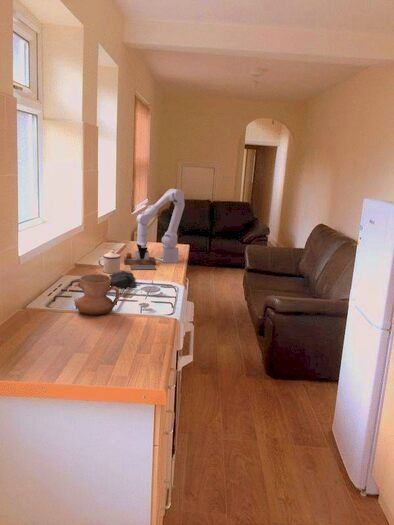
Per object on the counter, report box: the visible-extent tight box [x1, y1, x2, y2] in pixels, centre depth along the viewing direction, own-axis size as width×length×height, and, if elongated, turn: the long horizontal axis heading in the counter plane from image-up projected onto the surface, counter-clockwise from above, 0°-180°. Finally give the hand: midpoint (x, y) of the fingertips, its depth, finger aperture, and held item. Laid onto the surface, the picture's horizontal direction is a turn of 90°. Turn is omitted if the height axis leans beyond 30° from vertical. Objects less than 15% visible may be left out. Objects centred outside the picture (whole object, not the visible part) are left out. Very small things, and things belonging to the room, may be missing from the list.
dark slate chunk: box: [108, 270, 137, 289], centre depth 224 cm, size 15×22×5 cm
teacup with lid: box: [97, 250, 121, 275], centre depth 241 cm, size 12×9×12 cm
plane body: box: [123, 252, 157, 266], centre depth 265 cm, size 18×8×6 cm, turn 102°
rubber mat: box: [129, 265, 157, 271], centre depth 255 cm, size 14×9×1 cm, turn 102°
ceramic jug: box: [73, 273, 121, 316], centre depth 178 cm, size 18×14×14 cm
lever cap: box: [133, 249, 150, 260], centre depth 265 cm, size 8×5×5 cm, turn 102°
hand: (141, 257), depth 265 cm, fingers open, 7 cm apart
